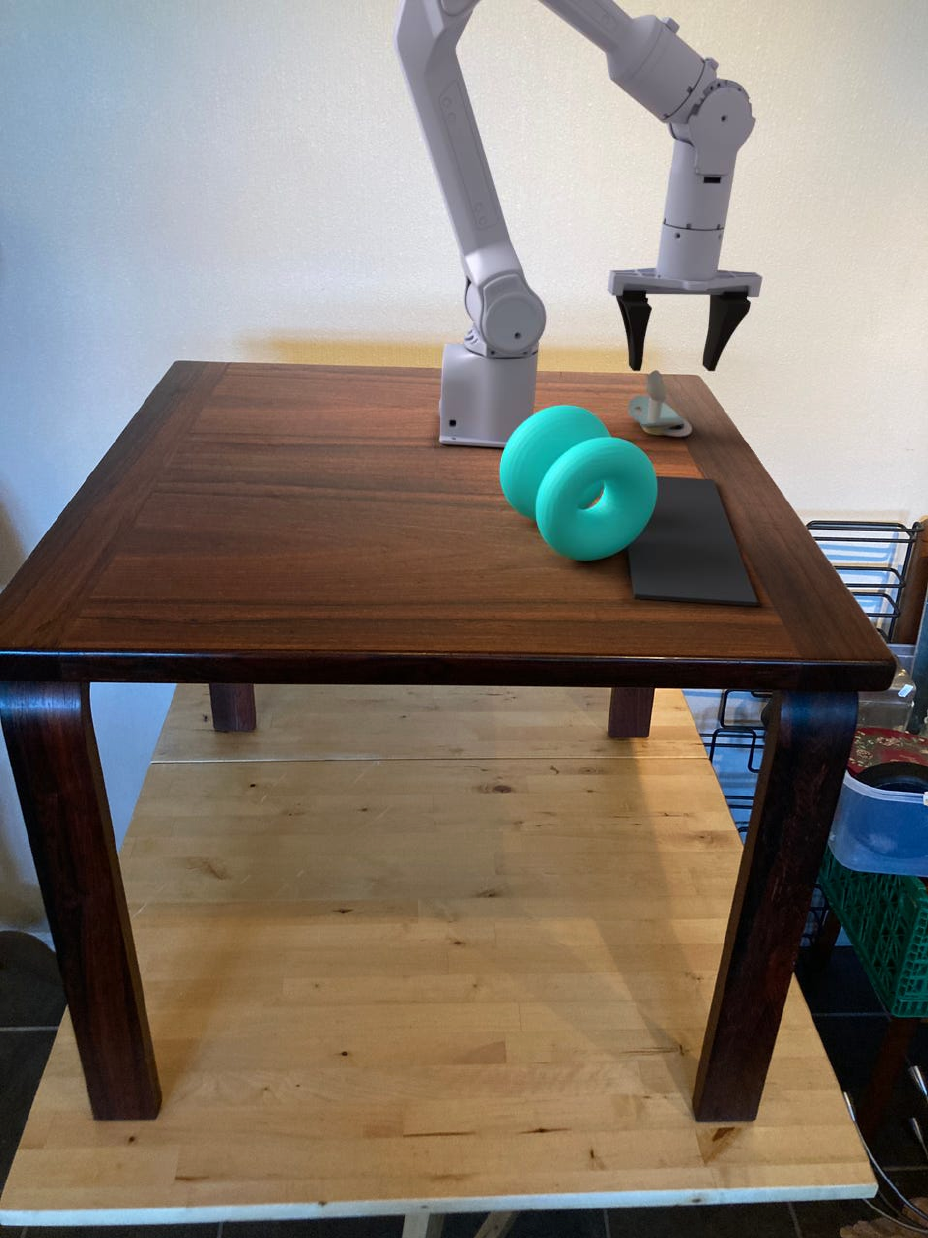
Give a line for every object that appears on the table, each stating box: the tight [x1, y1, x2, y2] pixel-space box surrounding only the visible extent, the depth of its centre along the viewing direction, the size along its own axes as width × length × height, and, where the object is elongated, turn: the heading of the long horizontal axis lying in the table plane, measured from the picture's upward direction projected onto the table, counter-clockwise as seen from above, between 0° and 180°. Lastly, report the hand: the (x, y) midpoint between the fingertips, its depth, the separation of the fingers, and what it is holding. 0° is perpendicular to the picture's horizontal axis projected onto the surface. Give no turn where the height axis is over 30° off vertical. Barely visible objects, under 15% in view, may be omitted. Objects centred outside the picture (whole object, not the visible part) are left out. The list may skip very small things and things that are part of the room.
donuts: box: [499, 404, 657, 562], centre depth 77 cm, size 10×10×10 cm
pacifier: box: [628, 369, 693, 438], centre depth 100 cm, size 7×6×6 cm
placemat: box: [625, 475, 758, 607], centre depth 81 cm, size 9×22×1 cm, turn 176°
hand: (671, 368), depth 98 cm, fingers open, 7 cm apart
